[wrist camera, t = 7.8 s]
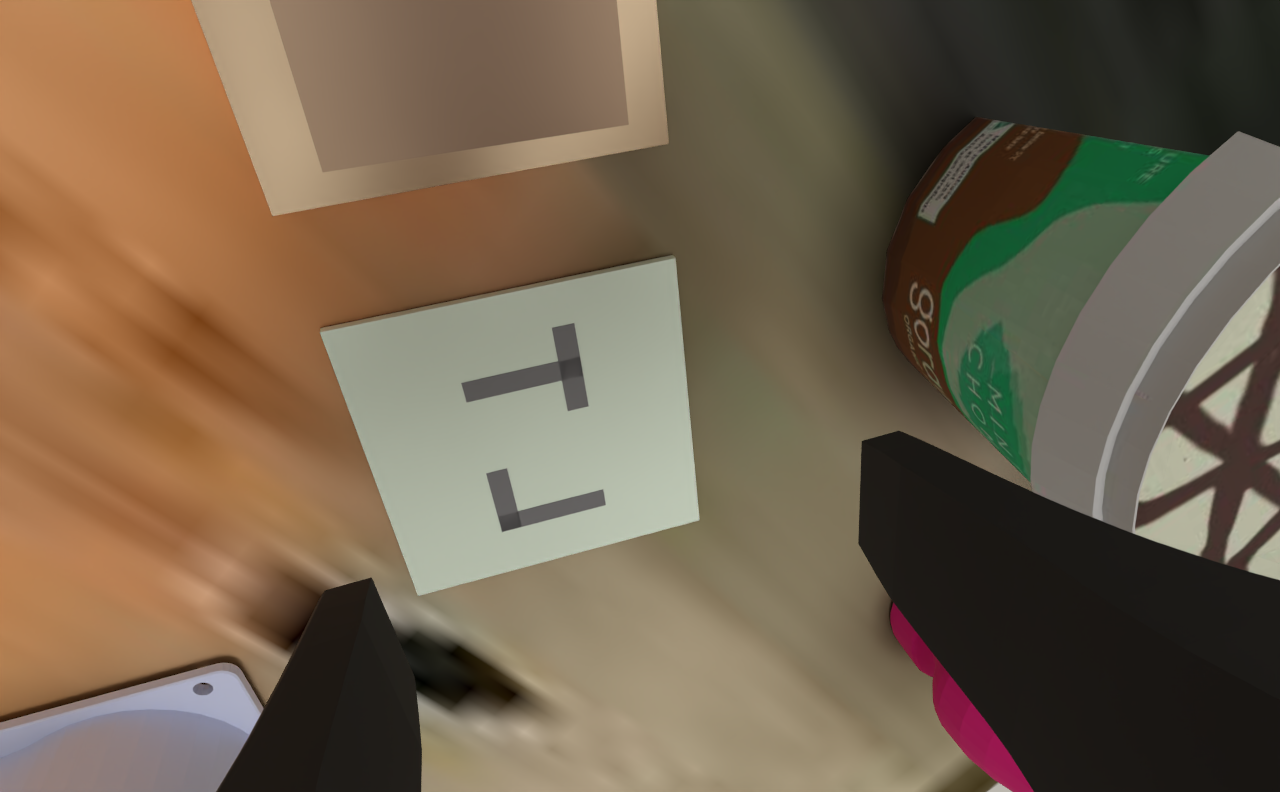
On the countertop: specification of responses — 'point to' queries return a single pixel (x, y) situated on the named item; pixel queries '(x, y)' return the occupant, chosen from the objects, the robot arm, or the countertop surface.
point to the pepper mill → (960, 712)
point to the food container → (1107, 324)
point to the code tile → (524, 420)
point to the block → (449, 73)
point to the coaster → (295, 181)
